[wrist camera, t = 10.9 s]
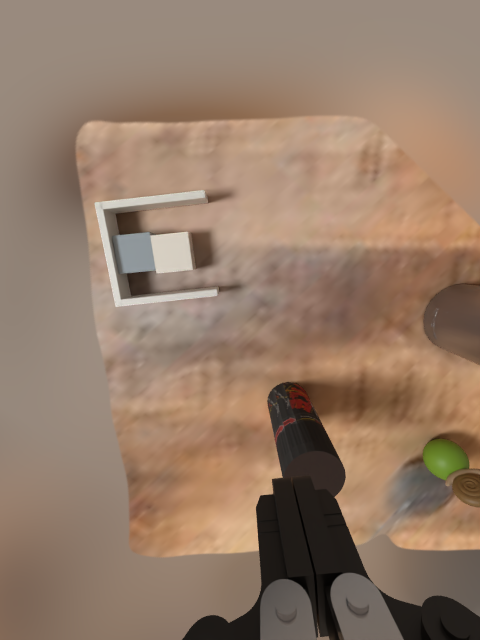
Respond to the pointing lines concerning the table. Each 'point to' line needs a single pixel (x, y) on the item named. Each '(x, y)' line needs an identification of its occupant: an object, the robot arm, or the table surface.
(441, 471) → the snail figurine
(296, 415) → the deodorant
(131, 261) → the grey-blue square block
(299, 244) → the table surface
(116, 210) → the tray
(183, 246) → the tile white
